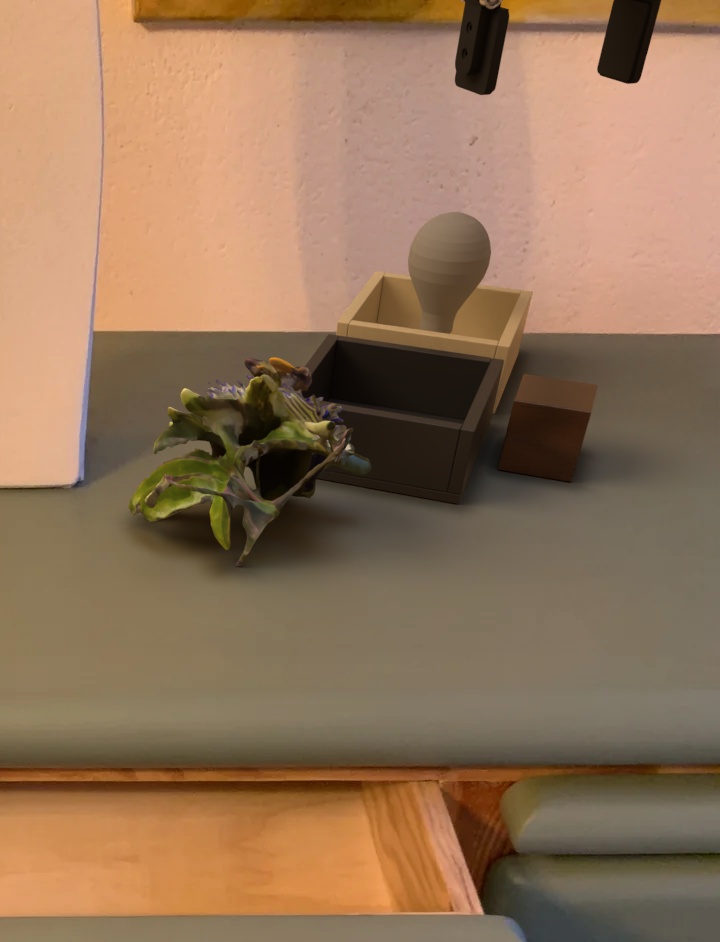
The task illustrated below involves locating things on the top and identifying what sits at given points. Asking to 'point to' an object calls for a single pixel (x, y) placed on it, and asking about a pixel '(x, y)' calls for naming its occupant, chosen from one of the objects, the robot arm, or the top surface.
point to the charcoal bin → (407, 412)
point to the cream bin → (474, 332)
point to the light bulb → (447, 266)
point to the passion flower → (248, 450)
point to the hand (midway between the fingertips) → (546, 84)
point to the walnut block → (547, 427)
